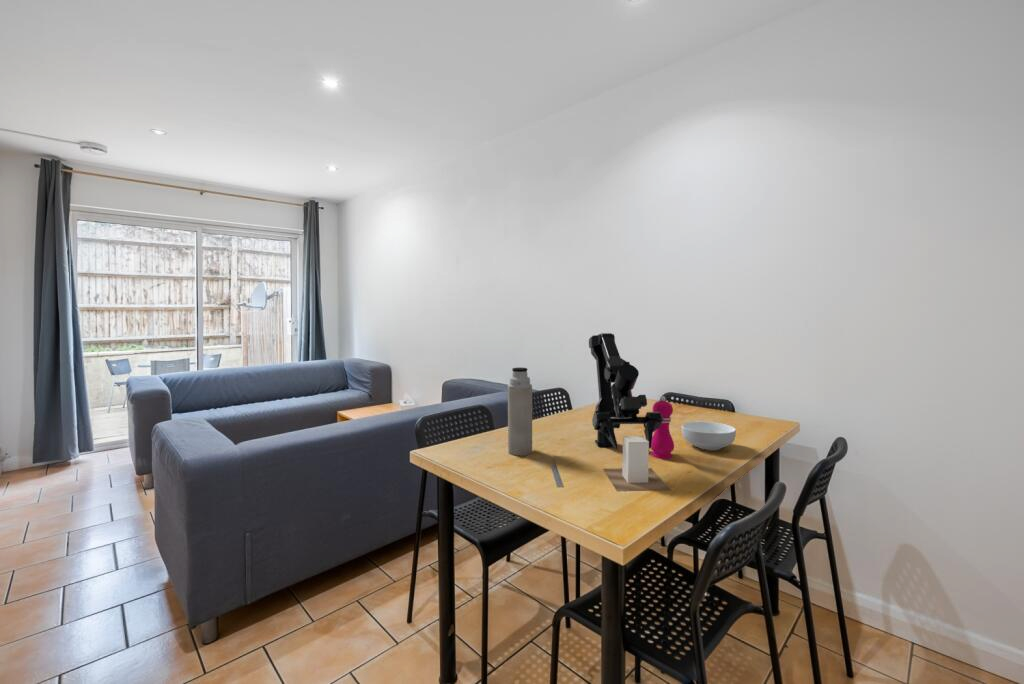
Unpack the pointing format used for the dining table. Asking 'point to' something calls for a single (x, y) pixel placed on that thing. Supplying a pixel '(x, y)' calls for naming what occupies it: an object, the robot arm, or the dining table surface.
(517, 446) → the thermos bottle
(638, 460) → the cover
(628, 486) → the board
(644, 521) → the dining table surface
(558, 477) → the flat grey strip
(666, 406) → the pepper mill
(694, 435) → the cereal bowl
